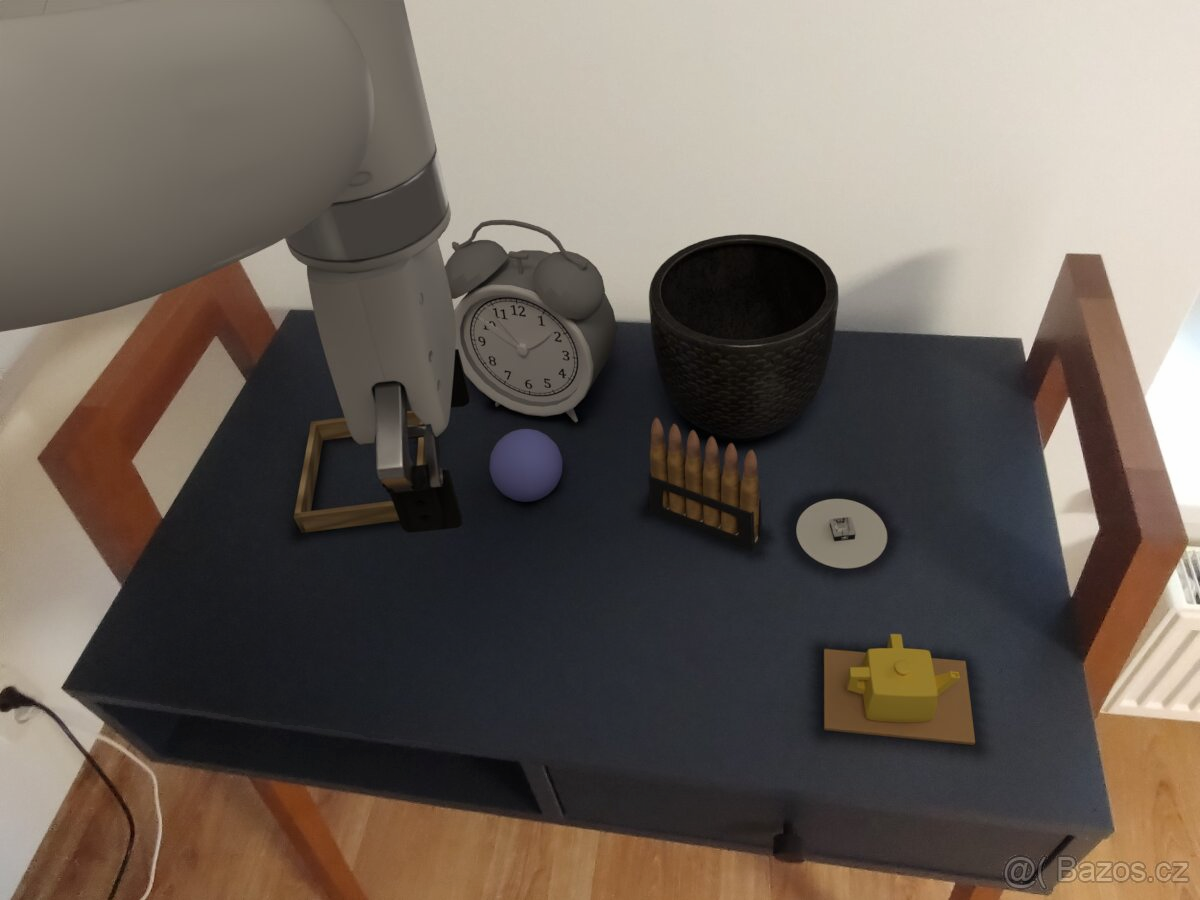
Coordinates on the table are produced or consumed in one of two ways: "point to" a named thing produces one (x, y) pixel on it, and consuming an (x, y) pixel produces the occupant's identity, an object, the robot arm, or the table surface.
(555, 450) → the sphere
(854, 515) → the white round disc
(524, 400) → the alarm clock
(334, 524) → the wooden frame
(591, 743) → the table surface
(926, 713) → the teapot
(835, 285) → the planter
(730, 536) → the ammunition clip
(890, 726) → the cork mat
